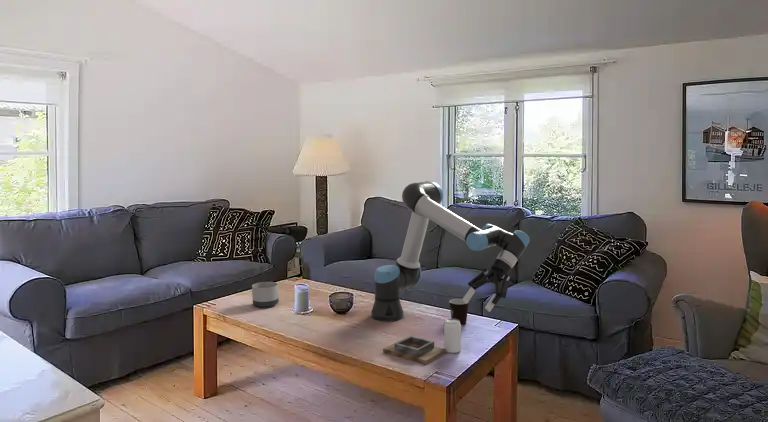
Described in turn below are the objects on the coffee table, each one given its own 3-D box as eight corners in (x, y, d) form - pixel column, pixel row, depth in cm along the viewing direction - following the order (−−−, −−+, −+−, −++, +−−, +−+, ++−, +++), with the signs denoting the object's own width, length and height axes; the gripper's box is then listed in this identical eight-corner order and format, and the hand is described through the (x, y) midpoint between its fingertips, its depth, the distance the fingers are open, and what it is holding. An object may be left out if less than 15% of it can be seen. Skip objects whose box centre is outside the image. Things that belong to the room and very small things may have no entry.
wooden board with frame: (383, 352, 214) (382, 342, 214) (404, 341, 225) (404, 332, 225) (425, 364, 202) (425, 354, 202) (446, 352, 213) (446, 343, 212)
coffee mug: (468, 326, 243) (468, 304, 242) (448, 325, 245) (448, 303, 243) (469, 318, 254) (469, 297, 253) (450, 317, 256) (450, 296, 255)
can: (449, 346, 220) (449, 317, 218) (463, 349, 216) (463, 320, 215) (441, 351, 215) (441, 321, 213) (456, 354, 211) (456, 324, 209)
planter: (275, 308, 273) (275, 288, 271) (249, 309, 273) (249, 288, 271) (281, 301, 285) (280, 281, 284) (256, 301, 285) (255, 281, 284)
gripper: (531, 275, 216) (502, 319, 210) (487, 264, 237) (460, 303, 231) (521, 263, 213) (492, 307, 207) (478, 253, 234) (450, 293, 228)
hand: (475, 305), depth 219 cm, fingers open, 13 cm apart
